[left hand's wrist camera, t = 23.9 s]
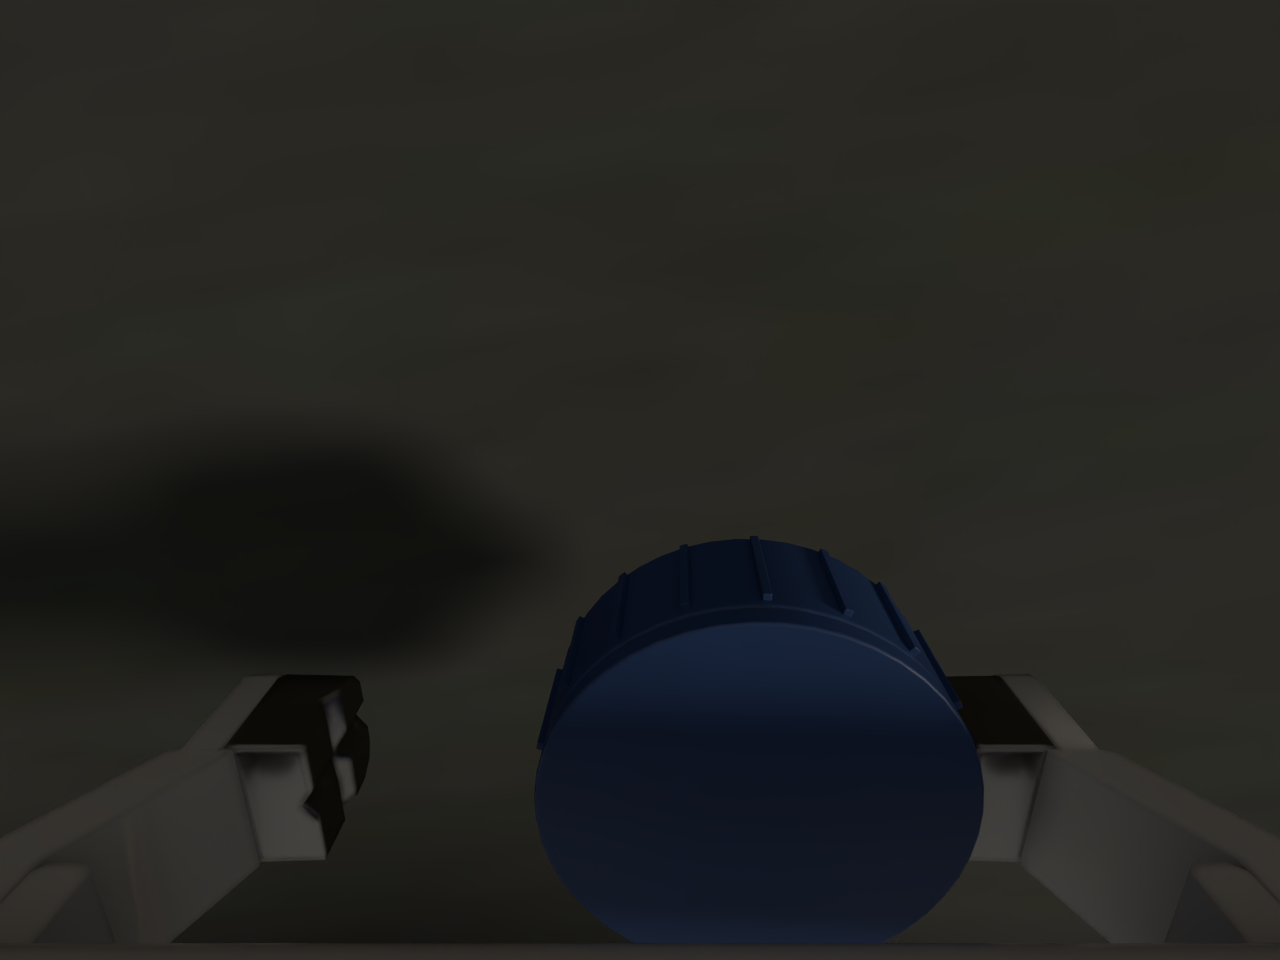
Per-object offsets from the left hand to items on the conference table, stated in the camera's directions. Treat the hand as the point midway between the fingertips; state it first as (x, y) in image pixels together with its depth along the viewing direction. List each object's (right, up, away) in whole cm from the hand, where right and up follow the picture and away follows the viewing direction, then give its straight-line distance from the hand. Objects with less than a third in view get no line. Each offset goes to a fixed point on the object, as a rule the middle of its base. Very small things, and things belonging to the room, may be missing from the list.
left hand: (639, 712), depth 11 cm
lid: (+1, -1, -2) cm, 2 cm away
